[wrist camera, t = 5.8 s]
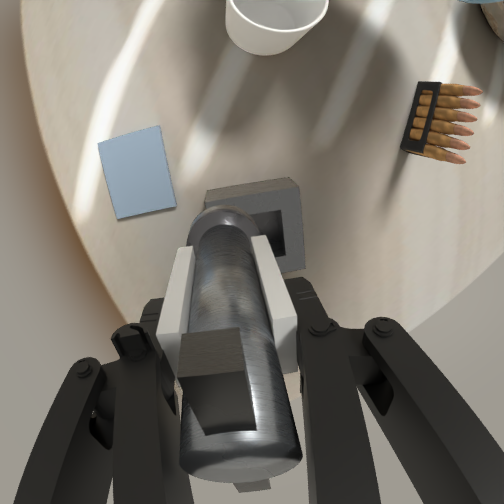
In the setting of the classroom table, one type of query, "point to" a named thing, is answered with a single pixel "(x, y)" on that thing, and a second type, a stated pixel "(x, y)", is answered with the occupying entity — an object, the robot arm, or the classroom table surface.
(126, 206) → the mat
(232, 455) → the key
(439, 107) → the ammunition clip
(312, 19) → the mug
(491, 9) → the ceramic bowl
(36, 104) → the classroom table surface
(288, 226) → the block
